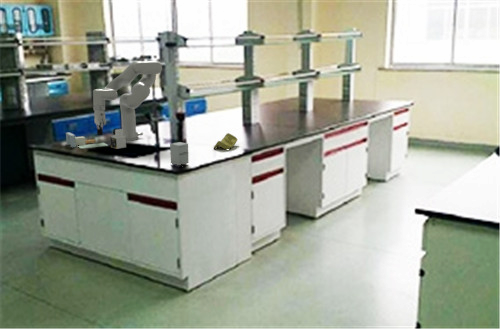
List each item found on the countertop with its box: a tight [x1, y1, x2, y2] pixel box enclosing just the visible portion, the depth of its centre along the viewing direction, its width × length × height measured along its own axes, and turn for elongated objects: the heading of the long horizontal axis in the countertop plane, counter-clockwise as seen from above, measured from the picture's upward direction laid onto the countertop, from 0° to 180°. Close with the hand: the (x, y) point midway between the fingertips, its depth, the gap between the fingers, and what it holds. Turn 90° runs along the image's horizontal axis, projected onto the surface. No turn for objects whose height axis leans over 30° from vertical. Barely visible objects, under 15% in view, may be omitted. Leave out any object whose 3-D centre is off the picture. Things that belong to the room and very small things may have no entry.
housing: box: [65, 132, 77, 148], centre depth 355 cm, size 2×12×8 cm, turn 34°
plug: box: [75, 136, 96, 147], centre depth 360 cm, size 14×4×5 cm, turn 123°
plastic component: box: [213, 132, 238, 150], centre depth 352 cm, size 20×7×10 cm
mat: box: [76, 142, 109, 150], centre depth 355 cm, size 18×9×1 cm, turn 123°
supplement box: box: [169, 141, 189, 165], centre depth 304 cm, size 7×7×13 cm
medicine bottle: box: [109, 128, 127, 150], centre depth 350 cm, size 7×7×12 cm
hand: (99, 134), depth 365 cm, fingers closed
